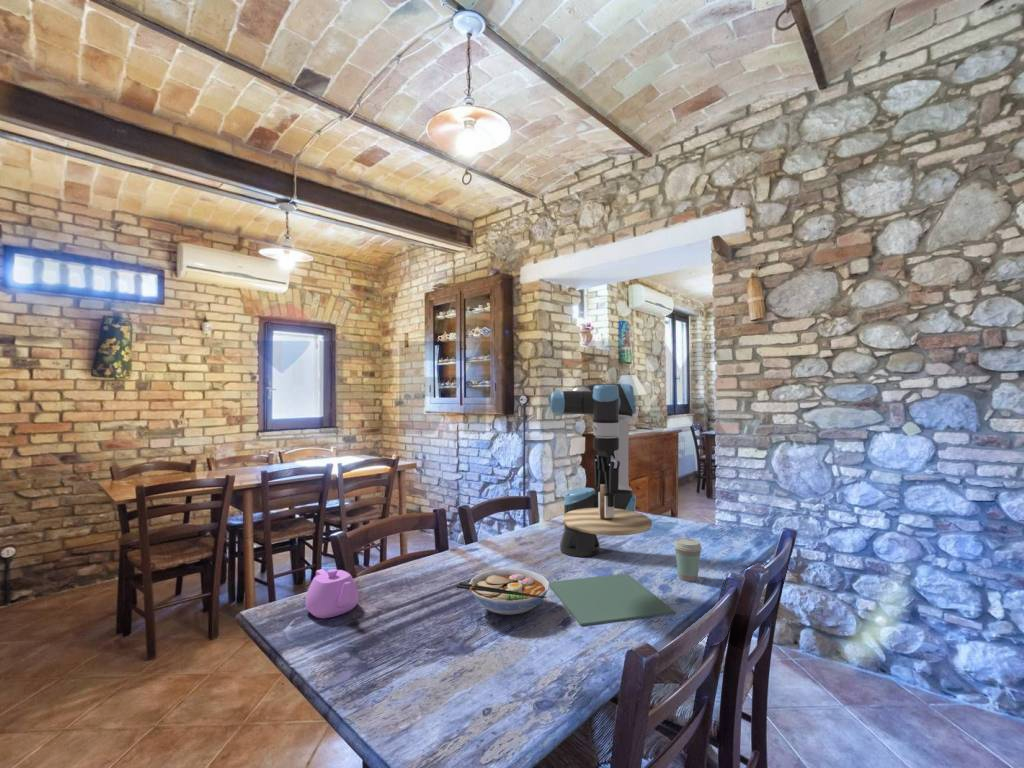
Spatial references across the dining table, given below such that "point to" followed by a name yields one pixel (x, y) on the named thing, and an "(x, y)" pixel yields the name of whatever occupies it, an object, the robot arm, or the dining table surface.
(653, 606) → the mat
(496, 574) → the ramen bowl
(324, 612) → the teapot
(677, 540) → the coffee cup
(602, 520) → the lid
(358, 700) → the dining table surface
